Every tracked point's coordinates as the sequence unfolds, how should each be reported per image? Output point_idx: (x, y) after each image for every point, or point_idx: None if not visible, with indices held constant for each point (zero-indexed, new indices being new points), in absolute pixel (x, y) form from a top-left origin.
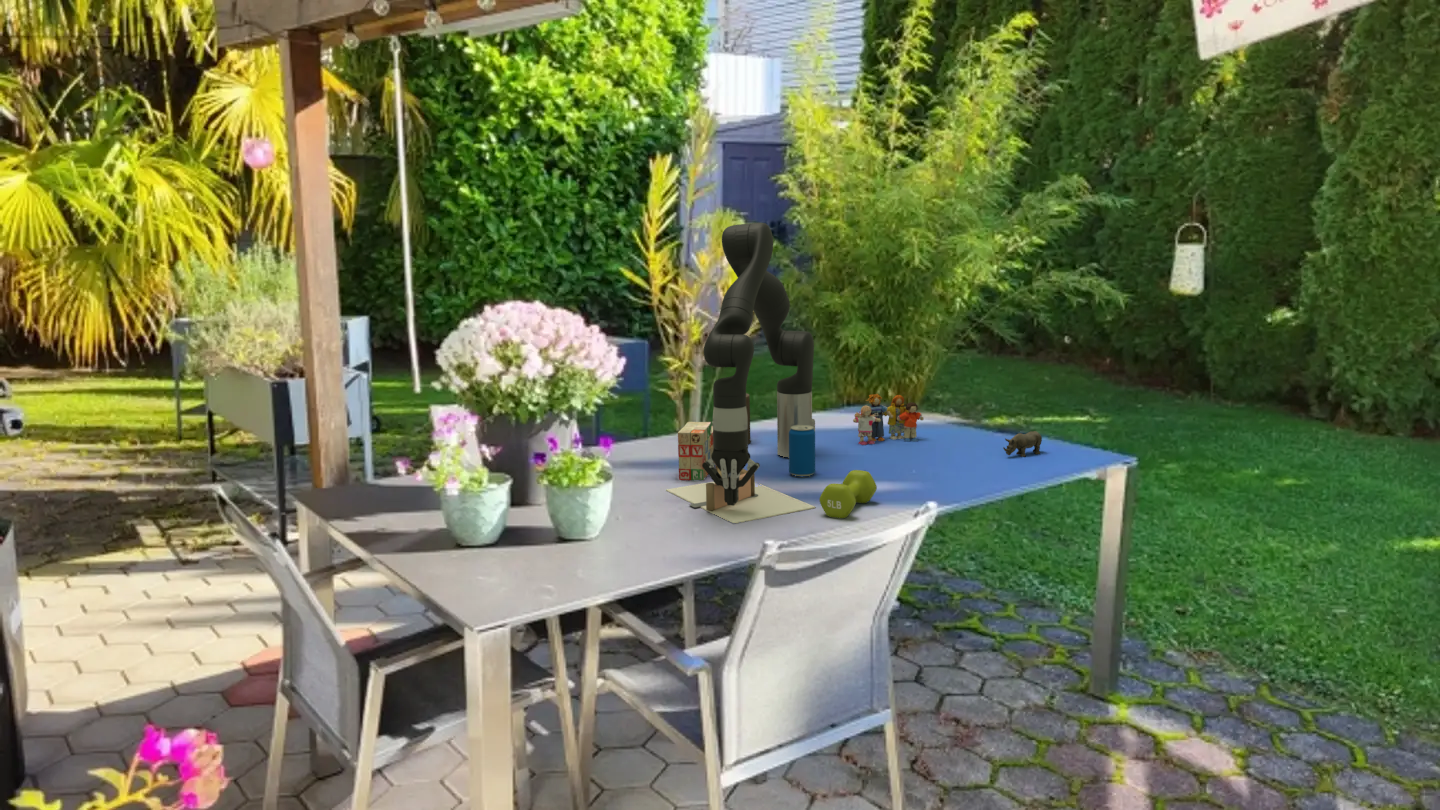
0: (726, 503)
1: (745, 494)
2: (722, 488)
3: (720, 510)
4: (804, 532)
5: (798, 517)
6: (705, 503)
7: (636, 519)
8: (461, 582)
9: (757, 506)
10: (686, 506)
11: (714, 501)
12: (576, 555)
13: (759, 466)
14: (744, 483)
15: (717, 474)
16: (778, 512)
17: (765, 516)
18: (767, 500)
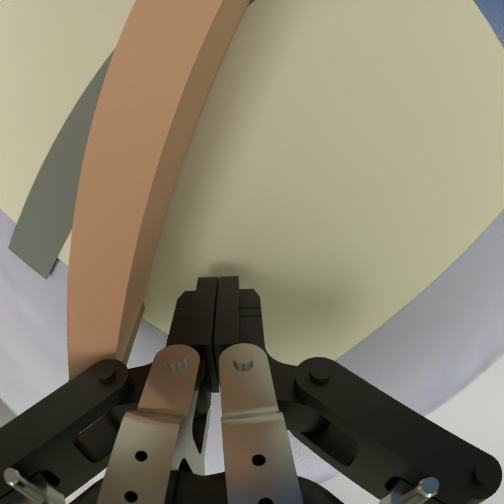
0: (162, 223)
1: (231, 35)
2: (127, 317)
3: (169, 293)
4: (471, 372)
5: (492, 270)
6: (50, 207)
7: (7, 381)
8: (68, 500)
9: (346, 180)
10: (7, 248)
11: (132, 329)
12: (90, 485)
13: (492, 462)
14: (332, 425)
15: (75, 424)
16: (443, 253)
17: (393, 315)
18: (377, 50)
